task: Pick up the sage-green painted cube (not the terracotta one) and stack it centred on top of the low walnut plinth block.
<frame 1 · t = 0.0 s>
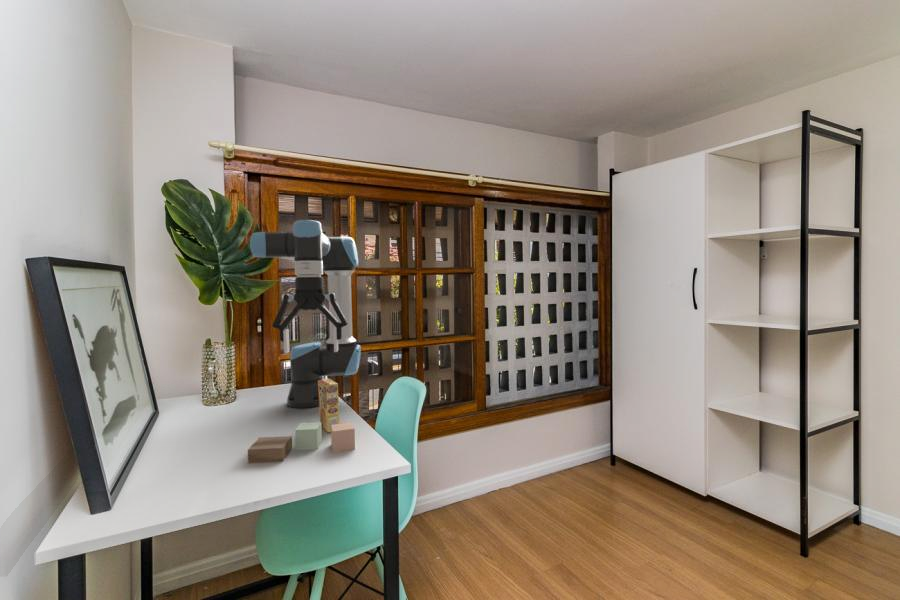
hand: (311, 352, 125), 28 cm above the table, fingers open, 13 cm apart
walnut plinth: (271, 456, 123), on the table
green cube: (309, 446, 129), on the table
candy box: (329, 428, 145), on the table
terracotta cube: (343, 447, 128), on the table
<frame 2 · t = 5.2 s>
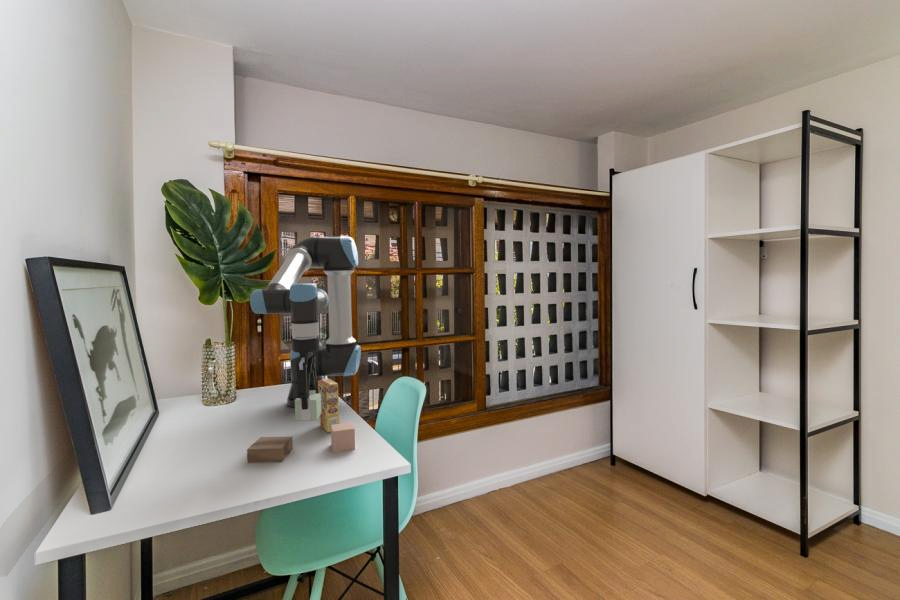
hand: (308, 415, 130), 9 cm above the table, fingers closed on green cube, 6 cm apart
green cube: (308, 416, 130), point 8 cm above the table, touching gripper
everything else where it was.
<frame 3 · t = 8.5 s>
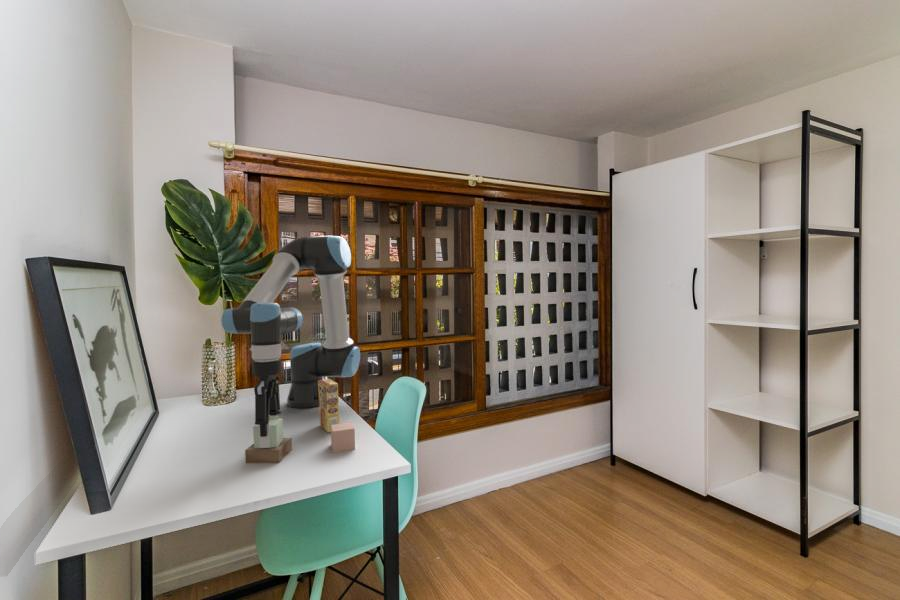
hand: (269, 442, 122), 4 cm above the table, fingers closed on green cube, 6 cm apart
walnut plinth: (269, 458, 122), on the table, touching gripper
green cube: (269, 443, 122), point 3 cm above the table, touching gripper
everything else where it was.
when the fingers open (4 cm above the table, at t = 8.7 s): green cube stays where it is, resting on walnut plinth.
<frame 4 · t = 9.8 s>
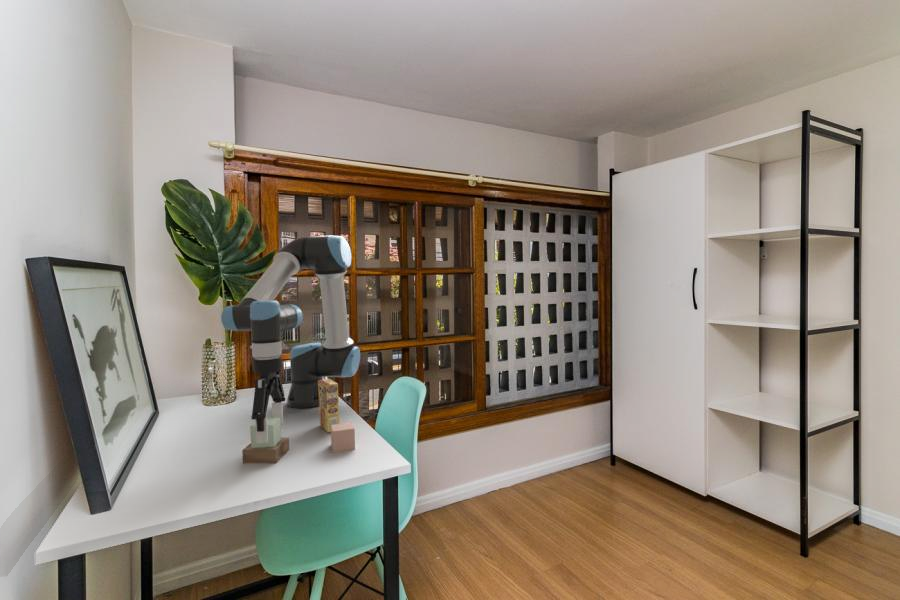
hand: (270, 433, 123), 6 cm above the table, fingers open, 13 cm apart
walnut plinth: (266, 457, 122), on the table, touching green cube
green cube: (266, 443, 122), point 4 cm above the table, touching walnut plinth
everything else where it was.
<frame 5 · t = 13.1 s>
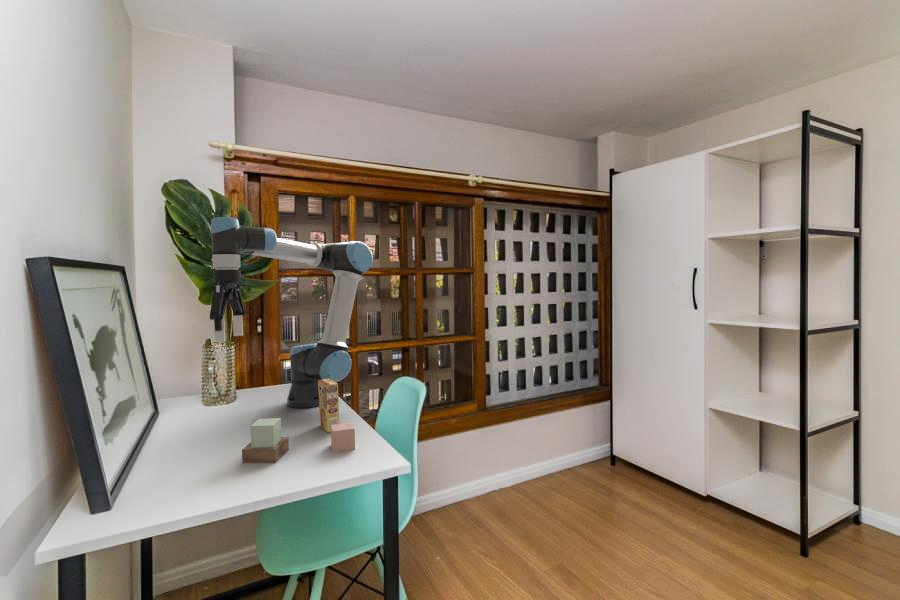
hand: (229, 338, 136), 31 cm above the table, fingers open, 13 cm apart
walnut plinth: (266, 457, 123), on the table
green cube: (266, 443, 122), point 4 cm above the table
everything else where it was.
at the end: green cube 0.6 cm off-centre on the walnut plinth, point 4.0 cm above the walnut plinth's base; green cube tilted 1°; the gripper is holding nothing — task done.
